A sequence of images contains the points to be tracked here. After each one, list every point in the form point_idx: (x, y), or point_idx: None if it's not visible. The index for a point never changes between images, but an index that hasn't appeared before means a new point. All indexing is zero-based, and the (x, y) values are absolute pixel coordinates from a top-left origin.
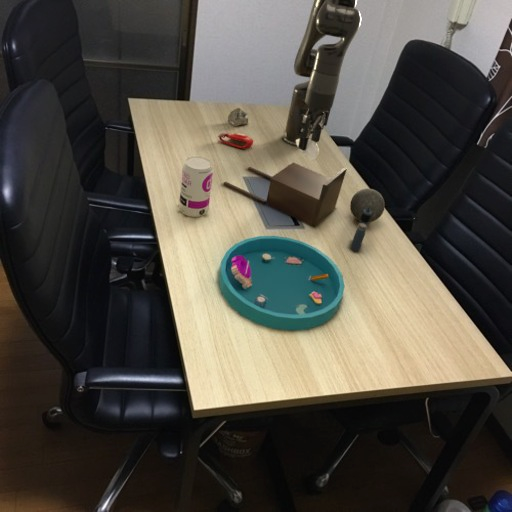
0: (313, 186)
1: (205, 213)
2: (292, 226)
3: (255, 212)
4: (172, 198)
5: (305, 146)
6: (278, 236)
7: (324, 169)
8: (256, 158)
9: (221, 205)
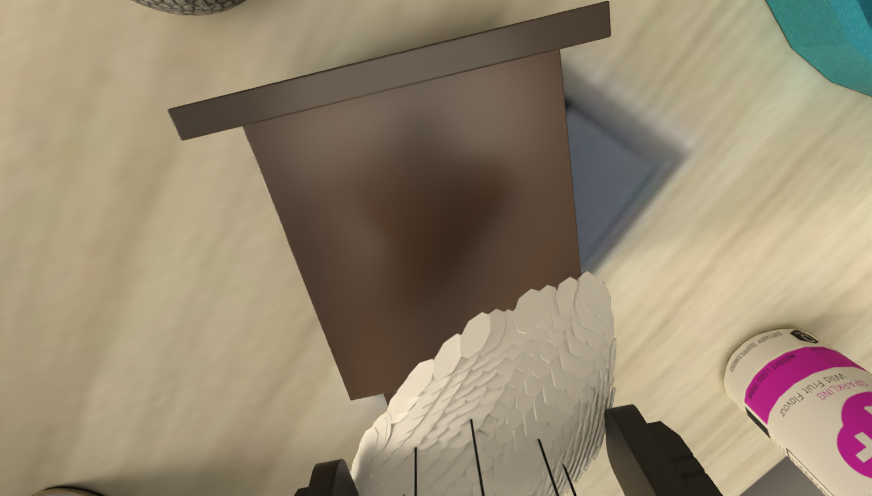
0: (453, 178)
1: (778, 330)
2: (586, 106)
3: (620, 257)
4: (753, 430)
5: (657, 439)
6: (841, 26)
7: (93, 339)
8: None
9: (675, 343)
